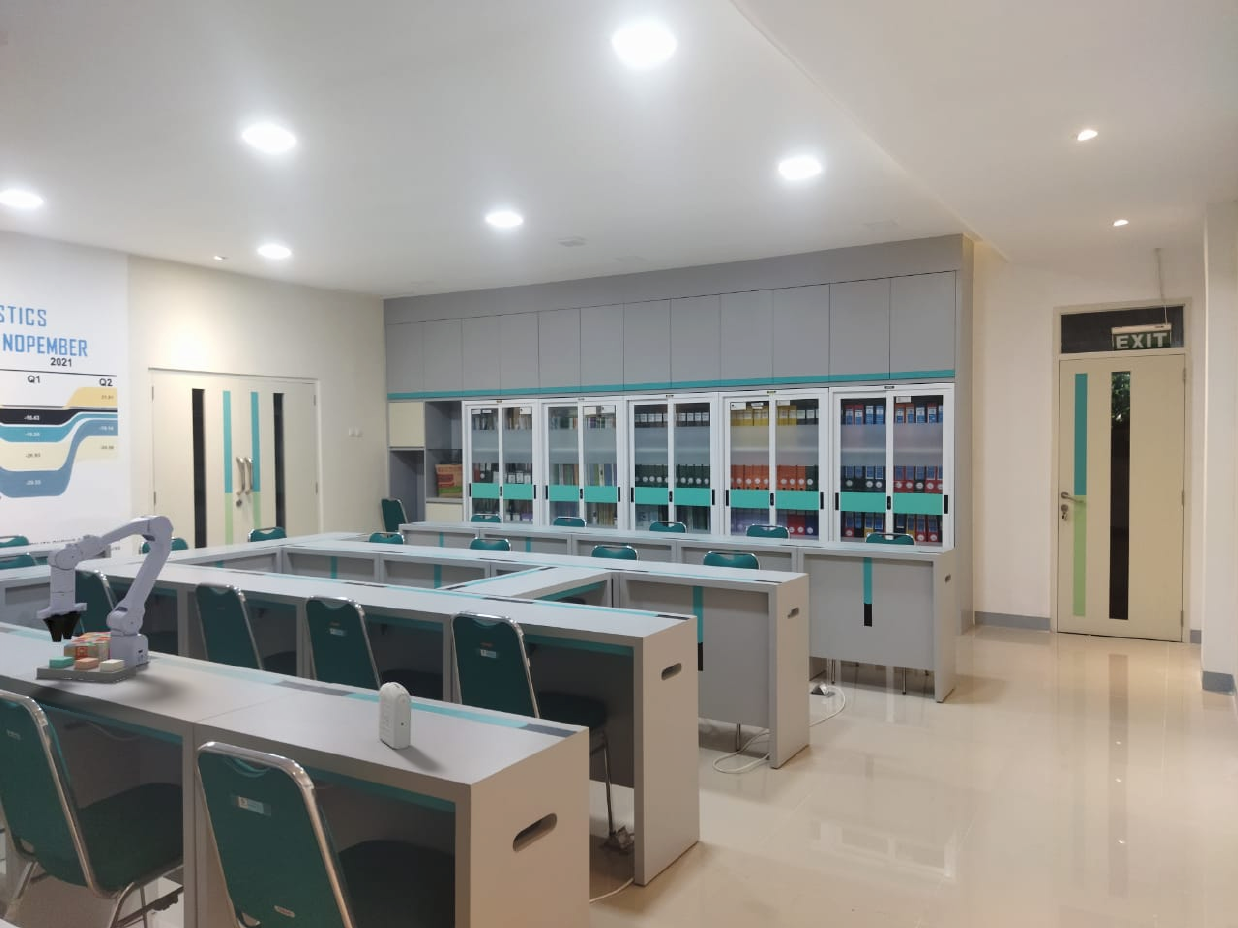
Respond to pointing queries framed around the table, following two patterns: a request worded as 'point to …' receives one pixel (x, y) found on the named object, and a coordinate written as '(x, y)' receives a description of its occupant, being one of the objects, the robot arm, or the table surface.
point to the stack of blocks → (89, 647)
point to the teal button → (61, 662)
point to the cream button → (111, 665)
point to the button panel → (86, 673)
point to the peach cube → (86, 663)
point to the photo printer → (395, 715)
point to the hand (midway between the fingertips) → (62, 640)
